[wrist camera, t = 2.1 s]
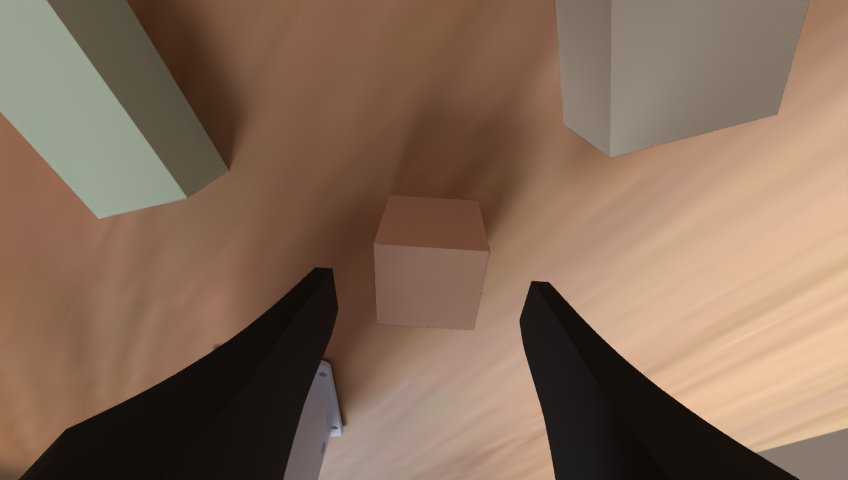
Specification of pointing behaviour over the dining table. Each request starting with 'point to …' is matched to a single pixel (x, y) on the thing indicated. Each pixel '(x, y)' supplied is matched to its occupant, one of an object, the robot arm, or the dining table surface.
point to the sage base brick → (101, 104)
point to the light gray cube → (671, 66)
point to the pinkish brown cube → (430, 262)
